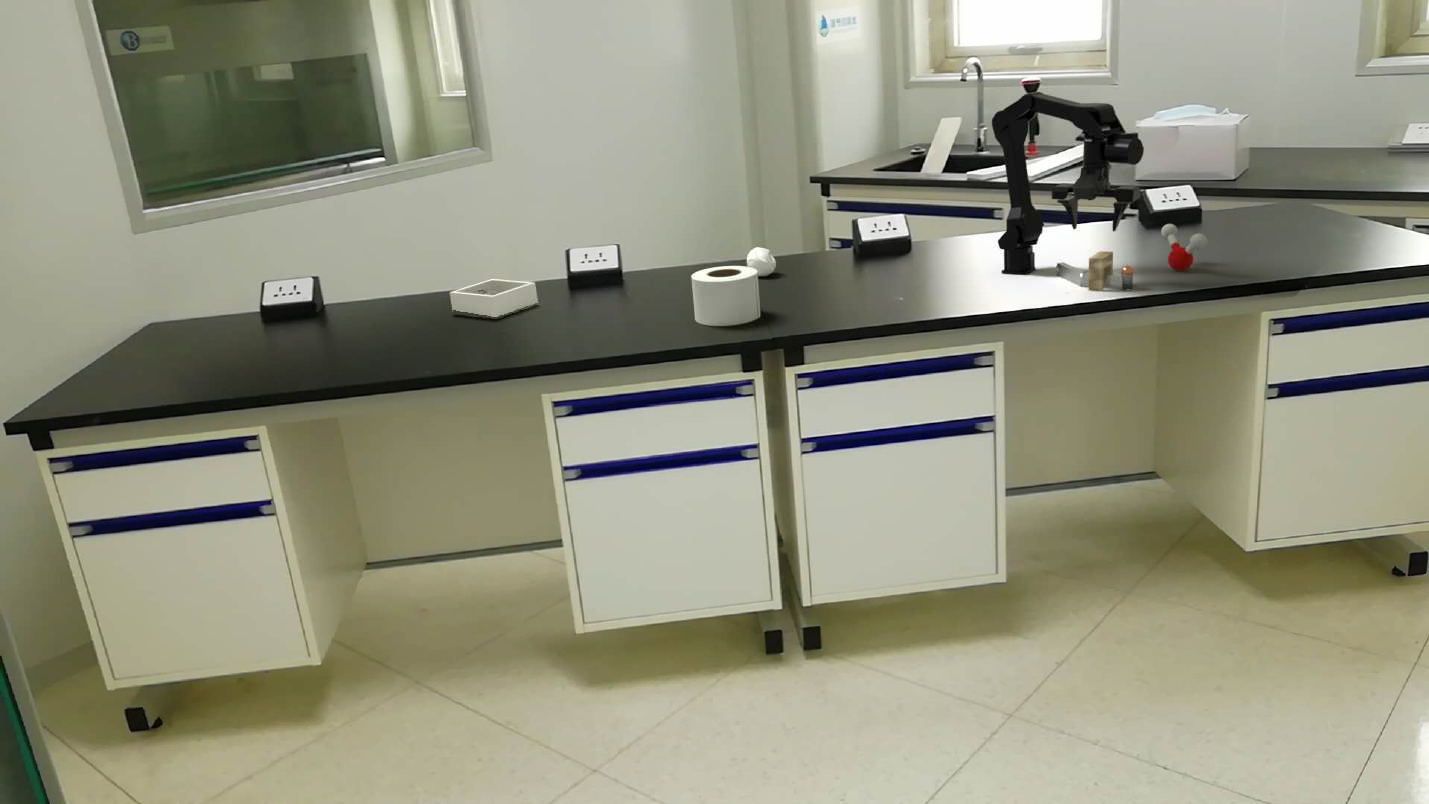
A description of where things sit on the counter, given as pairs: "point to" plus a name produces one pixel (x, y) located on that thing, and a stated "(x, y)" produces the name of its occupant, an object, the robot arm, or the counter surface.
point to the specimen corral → (494, 297)
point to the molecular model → (1182, 248)
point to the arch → (1099, 269)
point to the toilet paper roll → (726, 295)
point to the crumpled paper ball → (761, 261)
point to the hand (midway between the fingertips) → (1094, 230)
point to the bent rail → (1109, 279)
